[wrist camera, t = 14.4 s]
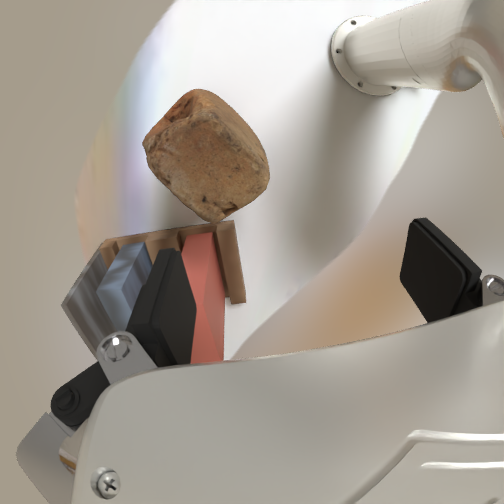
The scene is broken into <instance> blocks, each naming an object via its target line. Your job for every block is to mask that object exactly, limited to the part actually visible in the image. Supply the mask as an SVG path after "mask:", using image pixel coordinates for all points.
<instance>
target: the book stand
mask: <svg viewBox="0 0 504 504" xmlns="http://www.w3.org/2000/svg"><path fill="white" fill-rule="evenodd" d="M209 232H212V233H213V238H214V243H215V247H216V252H217V257H218V262H219V267H220V272H221V276H222V281H223V286H224V290H225V297H230V300H231V304H239V303H246V292H245V286H244V280H243V274H242V268H241V262H240V255H239V249H238V243H237V237H236V231H235V224H234V220H231V221H223V222H217V223H209V224H202V225H195V226H188V227H181V228H174V229H168V230H161V231H155V232H148V233H142V234H136V235H130V236H124V237H118V238H112V239H106V240H105V241H104V243H102V244H101V245H100V246H99V248H98V249H97V251H96V252H95V253H94V255H93V256H92V258H91V259H90V261H89V262H88V264H87V265H86V267H85V268H84V270H83V271H82V272H81V274H80V276H79V277H78V279H77V280H76V282H75V283H74V285H73V287H72V288H71V290H70V291H69V293H68V294H67V296H66V298H65V299H64V301H63V303H62V304H61V306H62V308H63V310H64V311H65V313H66V315H67V316H68V318H69V319H70V321H71V323H72V324H73V326H74V327H75V329H76V330H77V331H78V333H79V335H80V336H81V338H82V339H83V341H84V342H85V344H86V345H87V347H88V348H89V349H90V351H91V352H92V354H93V355H94V356H95V358H96V359H97V355H96V353H97V348H98V346H99V344H100V343H101V341H102V340H103V339H104V338H106V337H107V336H108V335H110V334H112V333H115V332H119V331H125V330H126V327H127V324H128V322H129V319H130V316H131V313H132V310H133V308H134V305H135V302H136V300H137V297H138V295H139V292H140V289H141V287H142V285H144V284H146V282H147V279H148V276H149V274H150V271H151V269H152V266H153V264H154V261H155V259H156V256H157V254H158V252H159V250H160V249H167V248H175V250H176V251H180V252H181V254H182V250H183V247H184V243H185V240H186V237H187V235H194V234H202V233H209ZM97 360H98V359H97Z"/></svg>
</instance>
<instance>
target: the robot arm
mask: <svg viewBox="0 0 504 504" xmlns="http://www.w3.org/2000/svg"><path fill="white" fill-rule="evenodd" d="M351 23H352V24H353V25H352V24H351ZM336 50H337V51H338V53H336ZM331 53H332V57H333V61H334V64H335V66H336V68H337V70H338V71H339V73H340V74H341V76H342V77H343V78H344V79H345V80H346V81H347V82H348V83H349V84H350V85H351V86H353V87H354V88H356V89H357V90H359V91H361V92H364V93H367V94H371V95H380V96H382V95H389V94H392V93H394V92H396V91H398V90H399V89H400V88H401V87H413V88H423V89H432V90H440V91H448V92H463V91H466V90H469V89H471V88H473V87H474V86H476V85H477V84H478V83H479V82H480V81H481V80H483V81H484V83H485V85H486V88H487V90H488V93H489V96H490V98H491V100H492V102H493V105H494V108H495V111H496V114H497V117H498V120H499V124H500V127H501V131H502V134H503V138H504V0H429V1H426V2H422V3H419V4H416V5H413V6H410V7H407V8H404V9H401V10H398V11H395V12H393V13H390V14H387V15H385V16H382V17H379V18H375V17H371V16H356V17H353V18H350V19H348V20H346V21H344V22H343V23H342V24H341V25H339V26H338V28H337V29H336V31H335V32H334V35H333V38H332V43H331ZM358 83H359V86H358ZM391 86H392V87H391ZM481 273H482V270H481V269H480V268H479V267H478V266H477V265H476V264H475V263H474V262H473V261H472V260H471V259H470V258H469V257H468V256H467V255H466V254H465V253H464V252H463V251H462V250H461V249H460V248H459V247H458V246H457V245H456V244H455V243H454V242H453V241H452V240H451V239H450V238H448V237H447V236H446V235H445V234H444V233H443V232H442V231H441V230H440V229H439V228H437V227H436V226H435V225H434V224H433V223H432V222H431V221H429V220H428V219H427V218H419V219H414V220H413V221H412V223H410V225H409V230H408V237H407V242H406V247H405V253H404V258H403V262H402V267H401V272H400V281H401V283H402V285H403V286H404V288H405V289H406V290H407V292H408V293H409V295H410V296H411V298H412V299H413V301H414V302H415V304H416V305H417V307H418V308H419V310H420V312H421V313H422V315H423V316H424V318H425V319H426V321H427V324H423V325H420V326H416V327H413V328H409V329H405V330H401V331H397V332H393V333H389V334H385V335H380V336H376V337H372V338H367V339H363V340H358V341H353V342H349V343H344V344H338V345H333V346H328V347H322V348H317V349H311V350H305V351H298V352H292V353H285V354H278V355H270V356H263V357H254V358H245V359H237V360H226V361H215V362H205V363H194V364H190V363H191V354H192V346H193V337H194V329H195V322H196V314H197V306H196V302H195V299H194V296H193V292H192V289H191V286H190V283H189V279H188V276H187V273H186V269H185V266H184V262H183V259H182V255H181V252H180V251H176V250H175V248H167V249H160V250H159V252H158V254H157V256H156V259H155V261H154V264H153V266H152V269H151V271H150V274H149V276H148V279H147V282H146V284H144V285H142V287H141V289H140V292H139V295H138V297H137V300H136V302H135V305H134V308H133V310H132V313H131V316H130V319H129V322H128V324H127V327H126V330H125V331H119V332H115V333H112V334H110V335H108V336H107V337H106V338H104V339H103V340H102V341H101V343H100V344H99V346H98V348H97V353H96V355H97V359H98V362H96V363H95V364H93V365H92V366H90V367H89V368H87V369H86V370H85V371H83V372H82V373H80V374H79V375H77V376H76V377H75V378H73V379H72V380H70V381H69V382H68V383H66V384H64V385H63V386H61V387H60V388H59V389H58V390H57V391H56V392H55V394H54V395H53V397H52V400H51V410H52V411H51V412H50V413H49V414H48V413H46V412H45V413H44V415H43V416H42V417H41V418H40V419H39V421H38V422H37V423H36V424H35V425H34V427H33V428H32V429H31V430H30V431H29V433H28V434H27V435H26V436H25V438H24V439H23V440H22V441H21V442H20V444H19V446H18V448H17V452H16V456H17V461H18V463H19V465H20V466H21V468H22V469H23V470H24V472H25V473H26V475H27V476H28V477H29V479H30V480H31V481H32V482H33V484H34V485H35V486H36V488H37V489H38V490H39V492H40V493H41V494H42V495H43V497H44V498H45V499H46V500H47V501H48V502H49V503H50V504H504V280H503V279H502V278H500V277H498V276H495V275H487V276H485V277H484V278H483V279H482V281H481V280H480V275H481Z"/></svg>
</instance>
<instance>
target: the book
mask: <svg viewBox="0 0 504 504" xmlns="http://www.w3.org/2000/svg"><path fill="white" fill-rule="evenodd" d="M181 255H182V259H183V262H184V266H185V269H186V273H187V276H188V279H189V283H190V286H191V289H192V292H193V296H194V299H195V302H196V306H197V314H196V322H195V329H194V337H193V346H192V354H191V364H194V363H205V362H215V361H223V357H224V313H225V290H224V286H223V281H222V276H221V272H220V267H219V262H218V257H217V252H216V247H215V243H214V238H213V233H212V232H209V233H202V234H194V235H187V237H186V240H185V243H184V247H183V250H182V254H181Z"/></svg>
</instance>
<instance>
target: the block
mask: <svg viewBox="0 0 504 504" xmlns="http://www.w3.org/2000/svg"><path fill="white" fill-rule="evenodd" d="M142 145H143V147H144V149H145V152H146V155H147V158H146V159H147V163H148V166H149V168H150V169H151V171H152V172H153V173H154V175H155V176H156V177H157V179H159V180H160V181H161V182H162V183H163V184H164V185H165V186H166V187H167V188H168V189H170V190H171V192H172V193H173V194H174V195H175V196H177V198H178V199H179V200H180V201H181V202H182V203H183V204H184V205H186V206H187V207H188V208H190V209H191V210H193V211H194V212H195V213H196V214H197V215H198V216H199V217H201V218H202V219H203V220H205V221H207V222H210V223H217V222H219V221H221V220H223V219H224V218H226V217H227V216H229V215H230V214H232V213H233V212H235V211H237V210H239V209H240V208H242V207H244V206H246V205H247V204H249V203H251V202H252V201H254V200H255V199H256V198H257V197H258V196H259V195H260V194H261V193H262V192H264V191H265V190H266V188H267V185H268V182H269V179H270V174H269V166H268V161H267V157H266V154H265V151H264V149H263V147H262V145H261V143H260V141H259V139H258V137H257V136H256V135H255V133H254V132H253V130H252V129H251V128H250V126H249V125H248V124H247V123H246V122H245V121H244V120H243V119H242V118H241V117H240V115H239V114H238V113H237V112H236V111H235V110H234V109H233V108H232V107H230V106H229V105H228V104H227V103H226V102H225V101H224V100H222V99H221V98H220V97H219V96H217V95H216V94H214V93H212V92H210V91H207V90H203V89H194V90H191V91H189V92H187V93H186V94H184V95H183V96H182V97H181V98H180V99H179V100H178V101H177V102H176V103H175V104H174V105H173V106H172V107H171V108H170V109H169V111H168V112H167V113H166V114H165V115H164V117H163V118H162V119H161V120H160V121H159V122H158V123H157V124H156V125H155V126H154V127H153V128H152V129H151V130H150V132H149V133H148V134H147V135H146V136H145V139H144V141H143V142H142Z"/></svg>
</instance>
